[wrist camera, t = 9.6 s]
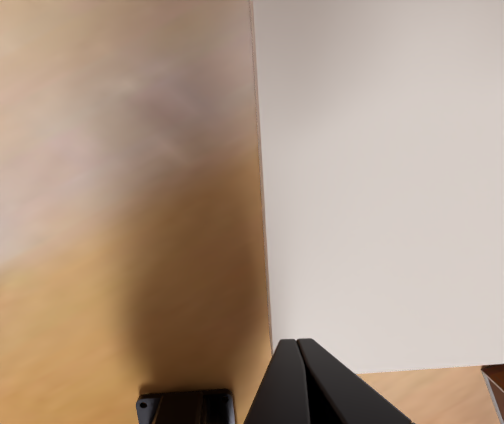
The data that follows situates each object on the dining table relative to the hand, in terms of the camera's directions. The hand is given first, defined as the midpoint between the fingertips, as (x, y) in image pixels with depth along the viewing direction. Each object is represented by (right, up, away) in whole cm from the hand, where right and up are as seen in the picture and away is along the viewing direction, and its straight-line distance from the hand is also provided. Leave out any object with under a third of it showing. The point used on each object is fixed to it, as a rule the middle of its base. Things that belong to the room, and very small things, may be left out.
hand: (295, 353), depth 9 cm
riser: (+6, +7, +11) cm, 14 cm away
